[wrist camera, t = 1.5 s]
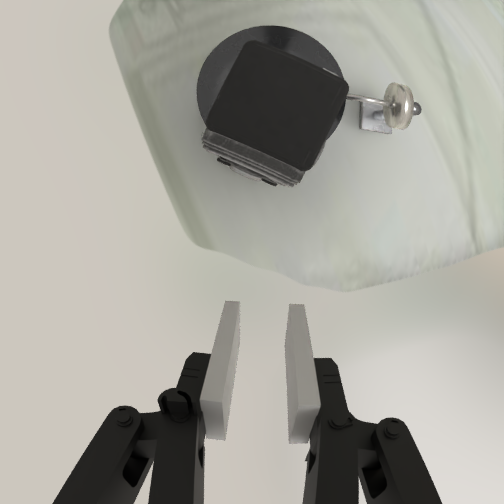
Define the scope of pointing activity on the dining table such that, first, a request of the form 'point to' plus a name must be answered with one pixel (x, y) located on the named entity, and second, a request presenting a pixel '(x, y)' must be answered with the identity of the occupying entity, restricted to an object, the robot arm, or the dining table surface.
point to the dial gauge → (387, 109)
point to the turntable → (274, 36)
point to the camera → (273, 114)
